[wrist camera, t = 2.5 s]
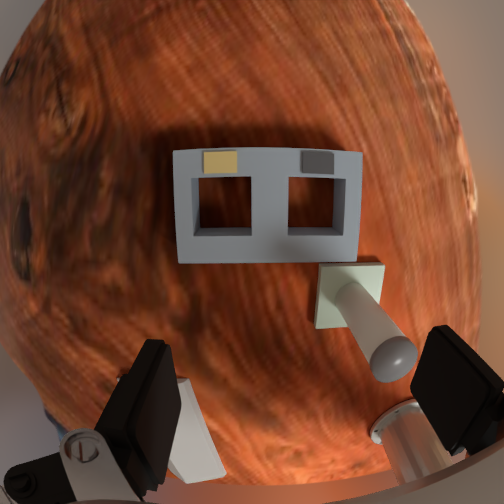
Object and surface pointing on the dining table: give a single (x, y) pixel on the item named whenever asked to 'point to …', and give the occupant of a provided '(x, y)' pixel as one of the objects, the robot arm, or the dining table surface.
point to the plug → (376, 334)
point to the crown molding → (193, 442)
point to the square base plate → (338, 276)
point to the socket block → (267, 206)
